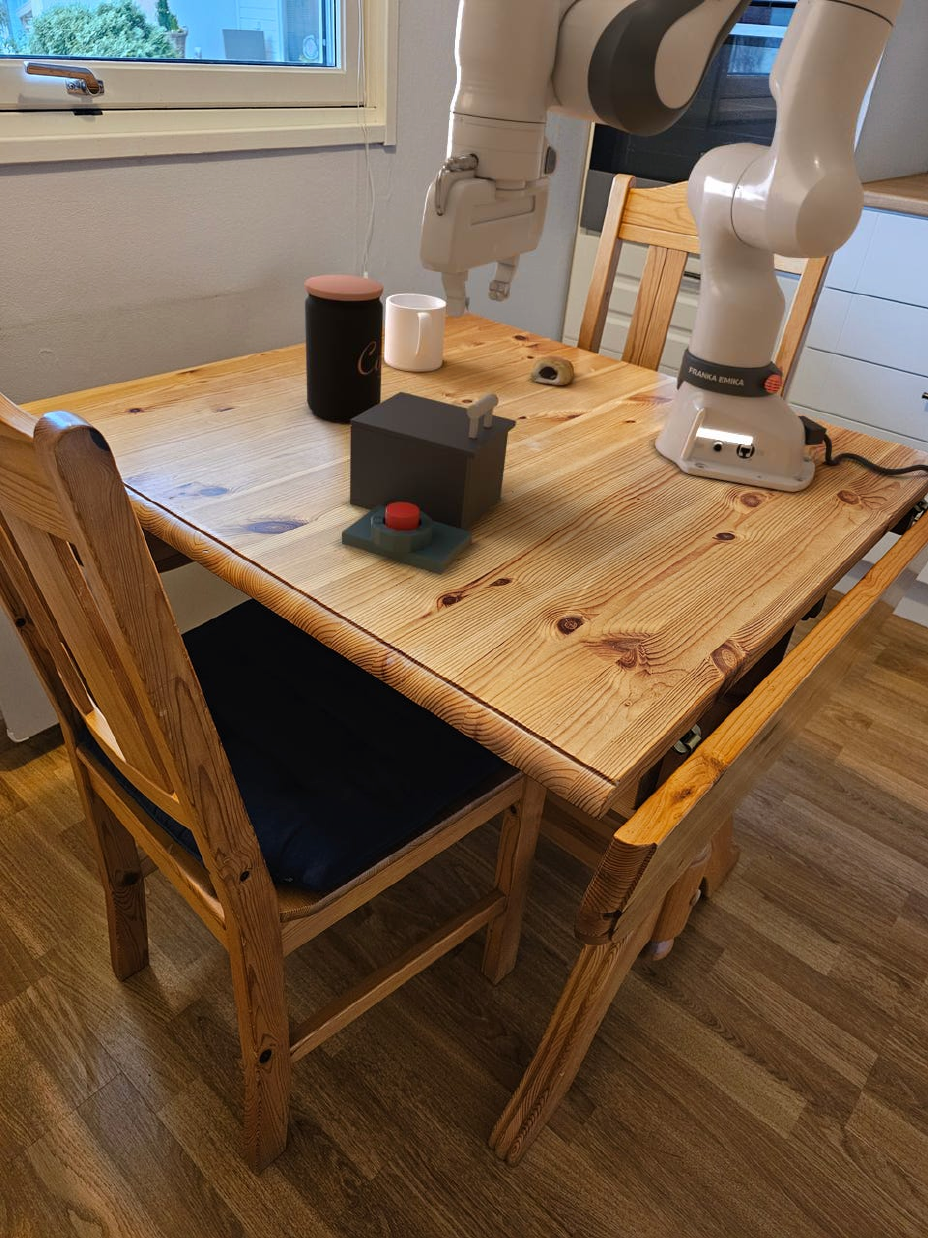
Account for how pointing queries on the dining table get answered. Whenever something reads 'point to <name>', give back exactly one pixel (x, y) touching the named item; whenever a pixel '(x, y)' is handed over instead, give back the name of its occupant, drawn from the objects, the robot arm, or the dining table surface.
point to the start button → (402, 516)
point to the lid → (438, 423)
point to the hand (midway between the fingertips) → (478, 307)
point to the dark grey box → (425, 477)
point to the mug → (414, 332)
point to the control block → (408, 540)
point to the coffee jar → (343, 345)
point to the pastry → (552, 371)
